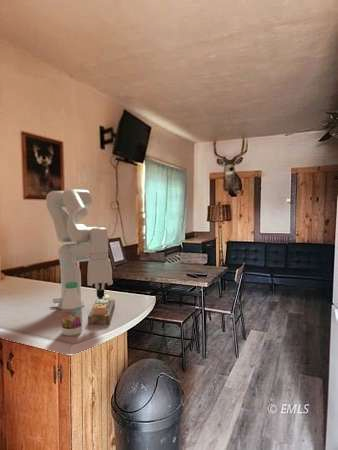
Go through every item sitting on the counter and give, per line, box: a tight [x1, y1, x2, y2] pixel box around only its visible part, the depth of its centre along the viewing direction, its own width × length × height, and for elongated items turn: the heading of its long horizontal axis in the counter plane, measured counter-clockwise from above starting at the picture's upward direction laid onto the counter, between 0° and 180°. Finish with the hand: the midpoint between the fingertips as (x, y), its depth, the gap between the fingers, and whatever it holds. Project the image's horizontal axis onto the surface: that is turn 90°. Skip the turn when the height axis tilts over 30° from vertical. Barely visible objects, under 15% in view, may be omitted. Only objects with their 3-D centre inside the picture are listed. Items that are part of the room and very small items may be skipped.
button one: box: [102, 294, 111, 304], centre depth 152 cm, size 5×5×5 cm
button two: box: [95, 299, 109, 309], centre depth 144 cm, size 5×5×5 cm
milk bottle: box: [61, 282, 83, 337], centre depth 125 cm, size 8×8×20 cm
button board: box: [87, 298, 116, 327], centre depth 144 cm, size 9×24×4 cm, turn 5°
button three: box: [92, 303, 107, 315], centre depth 137 cm, size 5×5×5 cm
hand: (100, 298), depth 136 cm, fingers closed
